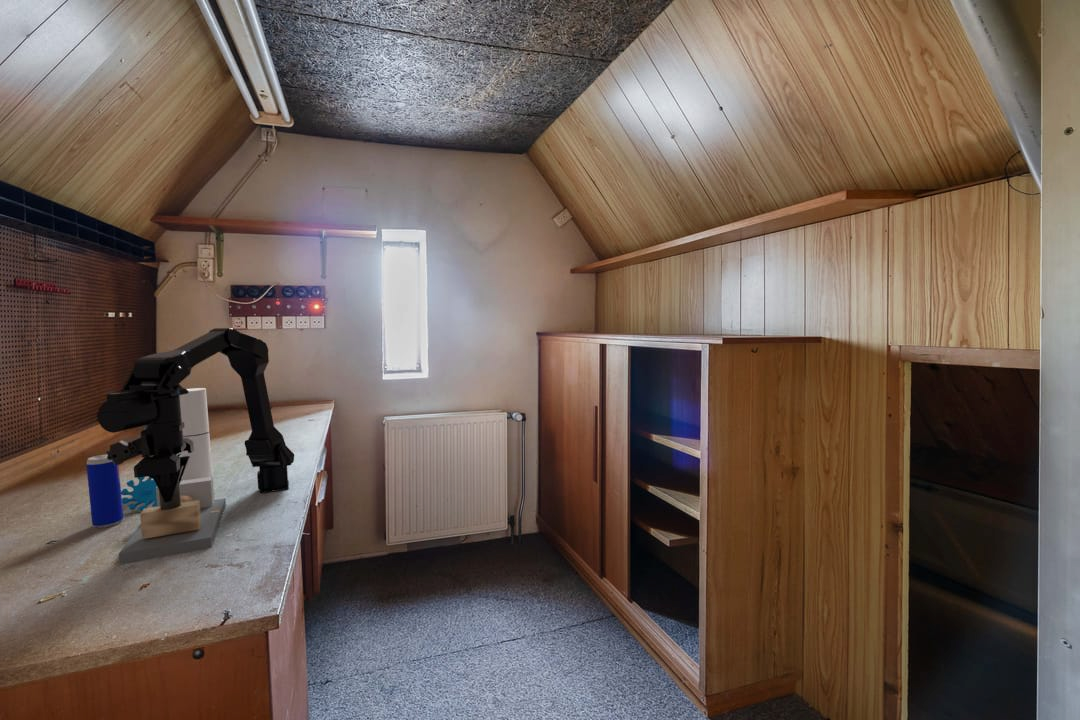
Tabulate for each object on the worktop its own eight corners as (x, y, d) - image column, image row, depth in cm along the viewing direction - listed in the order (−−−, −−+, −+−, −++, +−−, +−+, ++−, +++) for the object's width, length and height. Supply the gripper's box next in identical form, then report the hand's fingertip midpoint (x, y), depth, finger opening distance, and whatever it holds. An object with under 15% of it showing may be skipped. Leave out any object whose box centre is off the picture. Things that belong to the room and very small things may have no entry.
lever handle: (201, 523, 101) (197, 471, 100) (198, 529, 98) (194, 475, 97) (146, 533, 97) (141, 478, 96) (142, 539, 94) (137, 483, 93)
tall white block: (189, 482, 135) (181, 392, 133) (177, 478, 139) (170, 390, 137) (217, 475, 141) (210, 388, 139) (205, 471, 145) (198, 387, 143)
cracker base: (226, 506, 117) (223, 473, 116) (211, 547, 95) (208, 507, 95) (152, 518, 111) (149, 483, 110) (119, 564, 89) (115, 521, 89)
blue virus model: (113, 510, 111) (127, 470, 118) (118, 521, 115) (131, 482, 122) (173, 508, 116) (183, 470, 122) (176, 519, 120) (185, 482, 126)
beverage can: (129, 520, 109) (123, 454, 108) (102, 530, 105) (95, 460, 103) (114, 517, 111) (107, 452, 110) (86, 527, 106) (79, 459, 105)
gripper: (125, 417, 100) (131, 491, 102) (92, 435, 84) (100, 524, 85) (191, 411, 105) (196, 482, 107) (172, 428, 89) (179, 512, 90)
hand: (170, 498), depth 97 cm, fingers closed on lever handle, 3 cm apart
